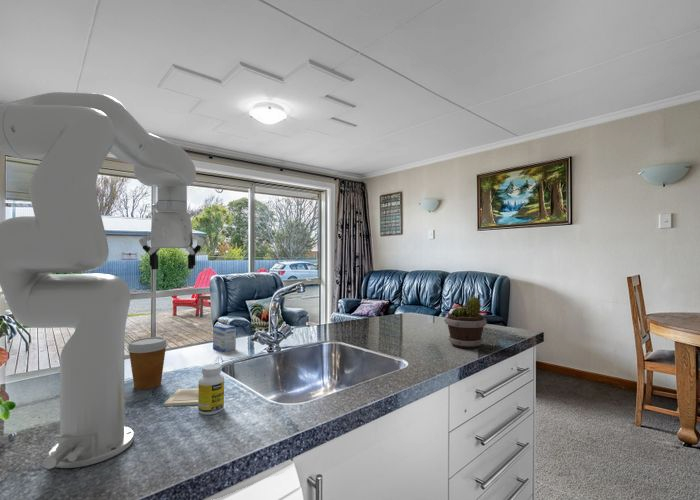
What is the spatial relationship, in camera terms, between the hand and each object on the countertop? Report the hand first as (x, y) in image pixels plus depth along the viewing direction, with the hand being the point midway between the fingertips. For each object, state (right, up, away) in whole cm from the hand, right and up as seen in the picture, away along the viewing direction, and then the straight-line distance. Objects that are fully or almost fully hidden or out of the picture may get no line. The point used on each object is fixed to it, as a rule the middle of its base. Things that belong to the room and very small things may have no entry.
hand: (173, 268), depth 102 cm
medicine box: (+4, -31, +31) cm, 44 cm away
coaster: (+11, -31, -14) cm, 35 cm away
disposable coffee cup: (-4, -31, -6) cm, 32 cm away
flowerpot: (+94, -31, +34) cm, 104 cm away
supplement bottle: (+19, -31, -21) cm, 42 cm away
